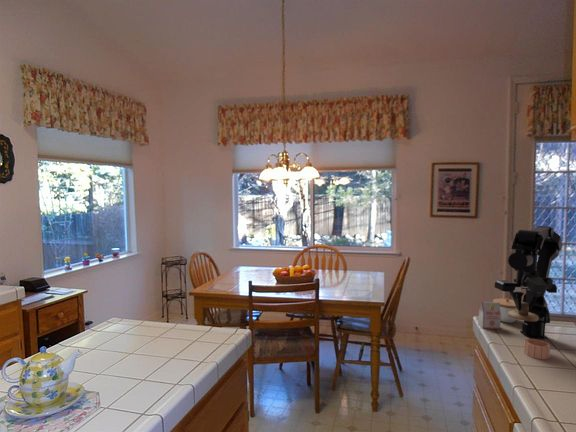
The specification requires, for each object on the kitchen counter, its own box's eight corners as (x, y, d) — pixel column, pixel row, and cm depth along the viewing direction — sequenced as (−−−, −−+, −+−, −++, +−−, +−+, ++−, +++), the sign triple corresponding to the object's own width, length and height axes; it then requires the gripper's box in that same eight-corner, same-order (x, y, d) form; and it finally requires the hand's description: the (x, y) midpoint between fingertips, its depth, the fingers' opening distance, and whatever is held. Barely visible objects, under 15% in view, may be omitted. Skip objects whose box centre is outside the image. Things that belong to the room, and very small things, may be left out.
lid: (527, 313, 139) (528, 299, 139) (544, 321, 130) (545, 307, 130) (503, 312, 139) (503, 299, 139) (518, 321, 130) (519, 306, 130)
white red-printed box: (478, 324, 155) (479, 300, 155) (495, 325, 155) (496, 301, 154) (482, 328, 152) (484, 303, 151) (499, 328, 152) (501, 303, 151)
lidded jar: (525, 325, 156) (526, 302, 155) (496, 323, 158) (497, 300, 157) (515, 317, 166) (516, 295, 166) (488, 314, 168) (489, 293, 168)
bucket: (539, 350, 132) (540, 338, 132) (554, 359, 125) (555, 347, 125) (519, 350, 132) (520, 338, 131) (533, 359, 125) (534, 347, 124)
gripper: (514, 270, 125) (510, 317, 127) (570, 272, 126) (567, 319, 127) (495, 263, 137) (492, 307, 138) (547, 265, 137) (544, 308, 138)
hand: (523, 310), depth 135 cm, fingers closed on lid, 3 cm apart
